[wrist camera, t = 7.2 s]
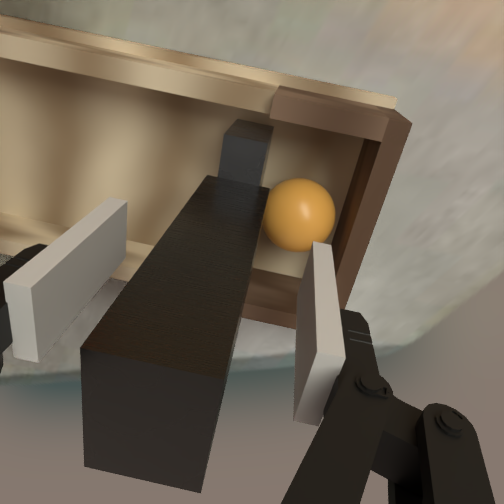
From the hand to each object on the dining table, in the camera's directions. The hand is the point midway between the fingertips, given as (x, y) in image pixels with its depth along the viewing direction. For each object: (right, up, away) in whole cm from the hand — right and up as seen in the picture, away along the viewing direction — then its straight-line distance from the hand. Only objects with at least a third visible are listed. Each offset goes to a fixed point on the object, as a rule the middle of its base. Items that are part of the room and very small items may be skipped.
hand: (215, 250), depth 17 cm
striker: (+1, +3, +6) cm, 7 cm away
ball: (+4, +2, +5) cm, 7 cm away
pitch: (-4, +5, +8) cm, 10 cm away
